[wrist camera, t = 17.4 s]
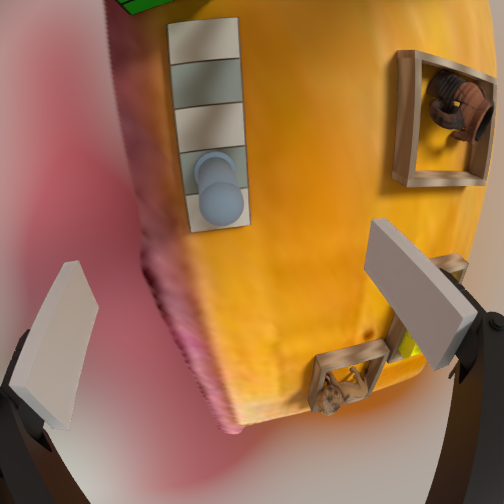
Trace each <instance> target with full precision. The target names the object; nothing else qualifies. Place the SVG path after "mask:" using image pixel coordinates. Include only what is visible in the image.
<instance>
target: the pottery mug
mask: <svg viewBox="0 0 504 504" xmlns="http://www.w3.org/2000/svg"><path fill="white" fill-rule="evenodd" d="M478 87H479V88H478ZM481 92H482V93H481ZM427 93H428V94H430V95H432V96H433V97H435V99H433V100H432V101H431V103H430V116H431V117H432V119H433V121H434V122H435V123H436V124H438V125H439V126H441V127H443V128H445V129H458V130H459V129H461V128H462V126H464V129H462V130H461V131H460V132H461V133H460V132H457V131H453V133H452V134H451V136H452V137H454V138H455V139H458V140H461V141H463V142H464V141H468V142H469V143H470V144H471V145H474V144H475V143H476V142H475V141H477V142H478V141H479V140H480V139H481V138H482V136H483V134H484V133H485V131H486V129H487V127H488V125H489V123H490V121H491V118H492V115H493V112H494V107H495V105H494V101H493V100H489V99H488V98H487V95H486V93H485V91H484V90H483V89H482V87H481V86H479V85H478V86H477V85H475V84H474V83H472V82H467V81H466V80H464V79H461V78H459V74H457V73H455V72H451V71H447V70H442V71H440V72H439V73H438V74H437V75H435V76H434V78H433V79H432V81H431V82H430V85H429V87H428V90H427ZM453 101H457V102H460V105H459V107H457V106H454V103H453Z"/></svg>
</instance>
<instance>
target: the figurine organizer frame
mask: <svg viewBox="0 0 504 504" xmlns="http://www.w3.org/2000/svg"><path fill="white" fill-rule="evenodd" d="M389 352H390V350H389V348H388V347H387V345H386V343H385V342H384V340H383V339H382V338H381V339H378V340H374V341H371V342H367V343H363V344H360V345H356V346H352V347H348V348H344V349H340V350H336V351H332V352H327V353H323V354H319V355H316V357H315V363H314V369H313V375H312V380H311V386H310V391H309V397H308V403H309V406H310V409H311V412H312V413H315V412H318V410H317V407H318V406H317V405H316V400H317V397H318V395H319V394H320V393H321V392H322V388H323V384H324V380H325V376H326V372H328V371H332V370H336V369H339V368H343V367H347V366H351V365H354V364H358V363H361V362H365V361H368V360H370V363H369V366H368V368H367V369H368V373H367V374H366V382H367V387H368V393H367V395H366V396H364V397H362V398H355V397H352V398H348V399H347V400H346V402H345V403H344V404H342V405H345V404H348V403H351V402H355V401H358V400H361V399H364V398H367V397H370V395H371V393H372V391H373V389H374V387H375V384H376V382H377V380H378V378H379V376H380V373H381V371H382V369H383V367H384V364H385V362H386V360H387V357H388V355H389ZM363 382H364V379H363Z"/></svg>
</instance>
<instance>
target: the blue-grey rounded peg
mask: <svg viewBox="0 0 504 504" xmlns="http://www.w3.org/2000/svg"><path fill="white" fill-rule="evenodd" d="M194 176H195V180H196V182H197V184H198V187H199V209H200V212H201V214H202V216H203V218H204V219H205V220H206V221H207V222H209V223H210V224H212V225H215V226H228V225H230V224H232V223H234V222H235V221H237V220H238V219H239V217H240V216H241V214H242V212H243V209H244V198H243V195H242V193H241V190H240V188H239V185H238V183H237V180H236V178H235V177H236V168H235V165H234V162H233V160H232V159H231V158H230V157H229V156H228V155H227V154H225V153H223V152H220V151H210V152H207V153H205V154H203V155H202V156H201V157H200V158H199V159H198V160H197V162H196V164H195V168H194Z"/></svg>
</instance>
